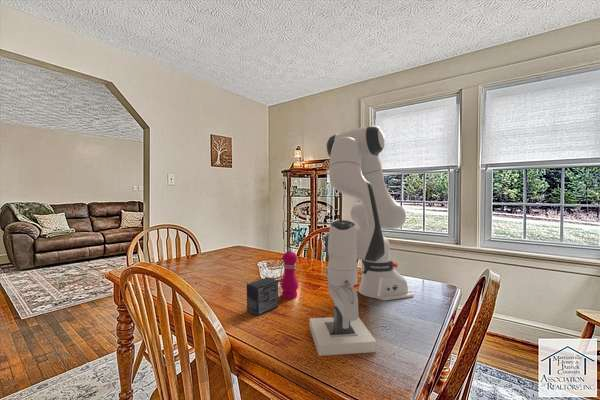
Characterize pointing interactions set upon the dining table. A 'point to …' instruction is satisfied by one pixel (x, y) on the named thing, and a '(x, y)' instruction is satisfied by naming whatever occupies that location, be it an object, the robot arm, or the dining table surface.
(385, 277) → the robot arm
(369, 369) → the dining table surface
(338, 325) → the plug
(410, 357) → the dining table surface
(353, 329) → the socket
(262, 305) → the small box
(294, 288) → the pepper mill
